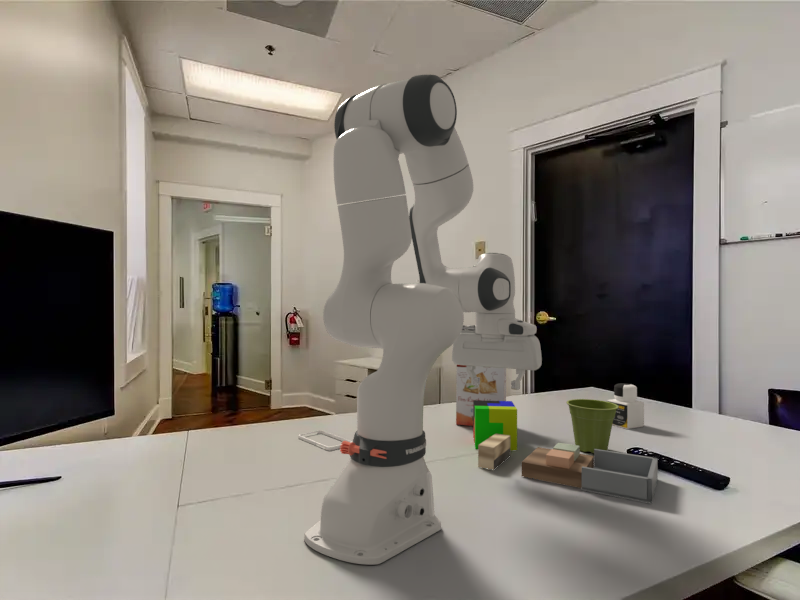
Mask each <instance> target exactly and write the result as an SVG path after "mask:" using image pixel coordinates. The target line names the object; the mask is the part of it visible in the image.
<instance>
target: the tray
mask: <svg viewBox="0 0 800 600" xmlns="http://www.w3.org/2000/svg"><path fill="white" fill-rule="evenodd" d="M593 456H594V468H589V467H583V466H582V488H581V491H584V492H589V493H595V494H599V495H606V496H609V497H610V496H611V497H615V498H620V499H625V500H629V501H636V502H641V503H645V504H651V505H652V504H653V501H654V497H655V492H656V488H657V484H658V473H659V472H658V470H659V469H658V468H659V467H658V463H659V462H658V460H659V459H658V458H657V457H652V456H645V455H639V454H632V453H626V452H625V453H624V452H621V451H619V452H618V451H612V450H608V449H607V450H600V449H594V453H593Z"/></svg>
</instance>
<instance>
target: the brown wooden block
mask: <svg viewBox="0 0 800 600" xmlns="http://www.w3.org/2000/svg"><path fill="white" fill-rule="evenodd" d="M551 449H552V448H546V447H539V446H537V447H536V448H535V449H534V450H533V451H532V452H531V453H529V454H528V455H527V456H526V457H525V458H524V459H523V460H522V461H521V477H522V476H524V477H523V478H527V477H528V479H532V478H534V479H533V480H537V479H538V481H544V482H548V483H552V484H553V483H554V484H558V485H564V486H569V487H573V488H574V487H575V488H579V489H582V466H583V467H589V468H594V455H590V454H589V455H588V454H584V453H580V455H579V456H578V458H577V459H576V460H575V461H574V463H573V464H572V466H571V467H570V468H569V469H567V468H562V467H556V466H550V465H546V454H547V453H548V452H549V451H550V450H551Z"/></svg>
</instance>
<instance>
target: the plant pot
mask: <svg viewBox="0 0 800 600" xmlns="http://www.w3.org/2000/svg"><path fill="white" fill-rule="evenodd" d="M566 404H567V405H568V410H569V414H570V418H571V424H572V429H573V431H572V432H573V438H574V445H578V446H580V452H583V453H584V452H585V453H588V452H590V453H592V454H594V449H600V450H607V451H608V450H609V443H610V439H611V433H612V430H613V429H612V427H613V425H612V423H613V418H614V417H615V413H616V409H618V408H619V406H618V405H616V404H614V403H611V402H607V401H605V400H600V399H592V398H591V399H590V398H587V399H586V398H577V399H576V398H574V399H573V398H572V399H568V400H567V401H566Z"/></svg>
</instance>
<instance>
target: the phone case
mask: <svg viewBox="0 0 800 600" xmlns="http://www.w3.org/2000/svg"><path fill="white" fill-rule="evenodd" d="M313 433H316V435H324V436H327V437H329V438H333V439H334V440H337V441H340V442H341V443H342V442H343V441H348V442H350V443H351V442H353V440H349V439H347V438H344V437H341V436H339V435H335V434H334V433H330V432H328V431H325V430H321V429H320V430H315V431H310V432H305V433H300V434H298V436H297V437H298V439H299V440H301V441H304V442H306V443H309V444H310V445H313V446H320V447H323V448H324V450H326V451H330V452H331V451H334V450H335V451H336V450H338V449H339V450H340V448H341V447H340V445H342V444H341V443H340V444H337V445H331V446H328V445H325V444H323V443H320V442H317V441H315V440H313V439H310V438H307V437H305V435H309V434H313Z"/></svg>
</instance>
